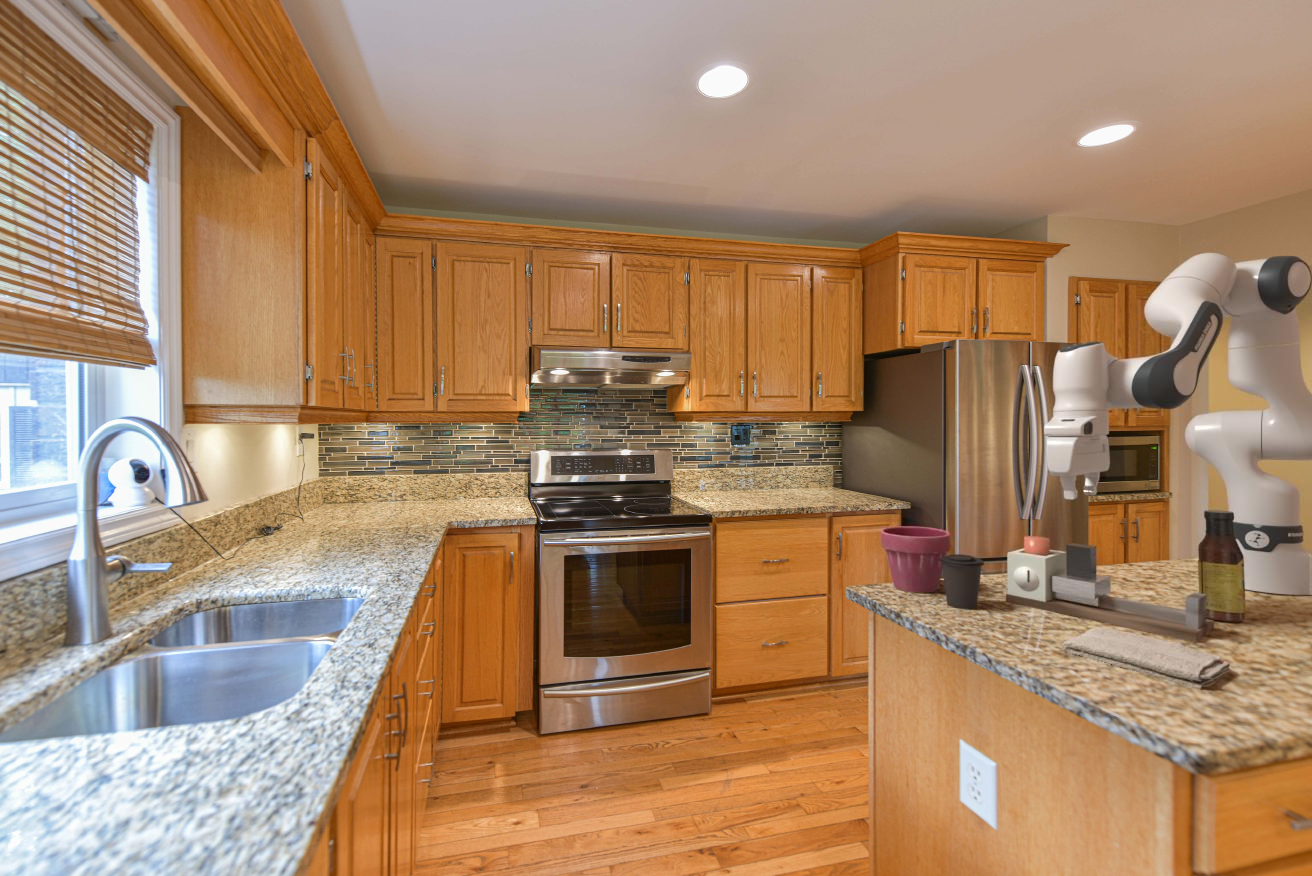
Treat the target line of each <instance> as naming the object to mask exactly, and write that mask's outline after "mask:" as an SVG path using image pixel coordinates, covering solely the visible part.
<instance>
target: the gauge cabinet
mask: <svg viewBox="0 0 1312 876" xmlns="http://www.w3.org/2000/svg"><path fill="white" fill-rule="evenodd" d="M1006 558H1007V560H1006V561H1007V565H1006V568H1007V576H1006V577H1007V581H1006V582H1007V583H1006V584H1007V587H1006V588H1007V589H1006V590H1007V591H1006V592H1007V593H1006V594H1010V595H1015V596H1020V597H1024V598H1029V599H1034V600H1039V601H1044V602H1046V601H1049V600H1051V599H1053V598H1054V591H1052V576H1054V575H1057V574H1059V573H1062V572H1065V571H1066V551H1063V550H1056V549H1055V550H1053V549H1050V555H1048V556H1041V555H1034V554H1027V553H1024V547H1023V548H1020V549H1017V550H1012V551H1009V552H1007V557H1006Z"/></svg>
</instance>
